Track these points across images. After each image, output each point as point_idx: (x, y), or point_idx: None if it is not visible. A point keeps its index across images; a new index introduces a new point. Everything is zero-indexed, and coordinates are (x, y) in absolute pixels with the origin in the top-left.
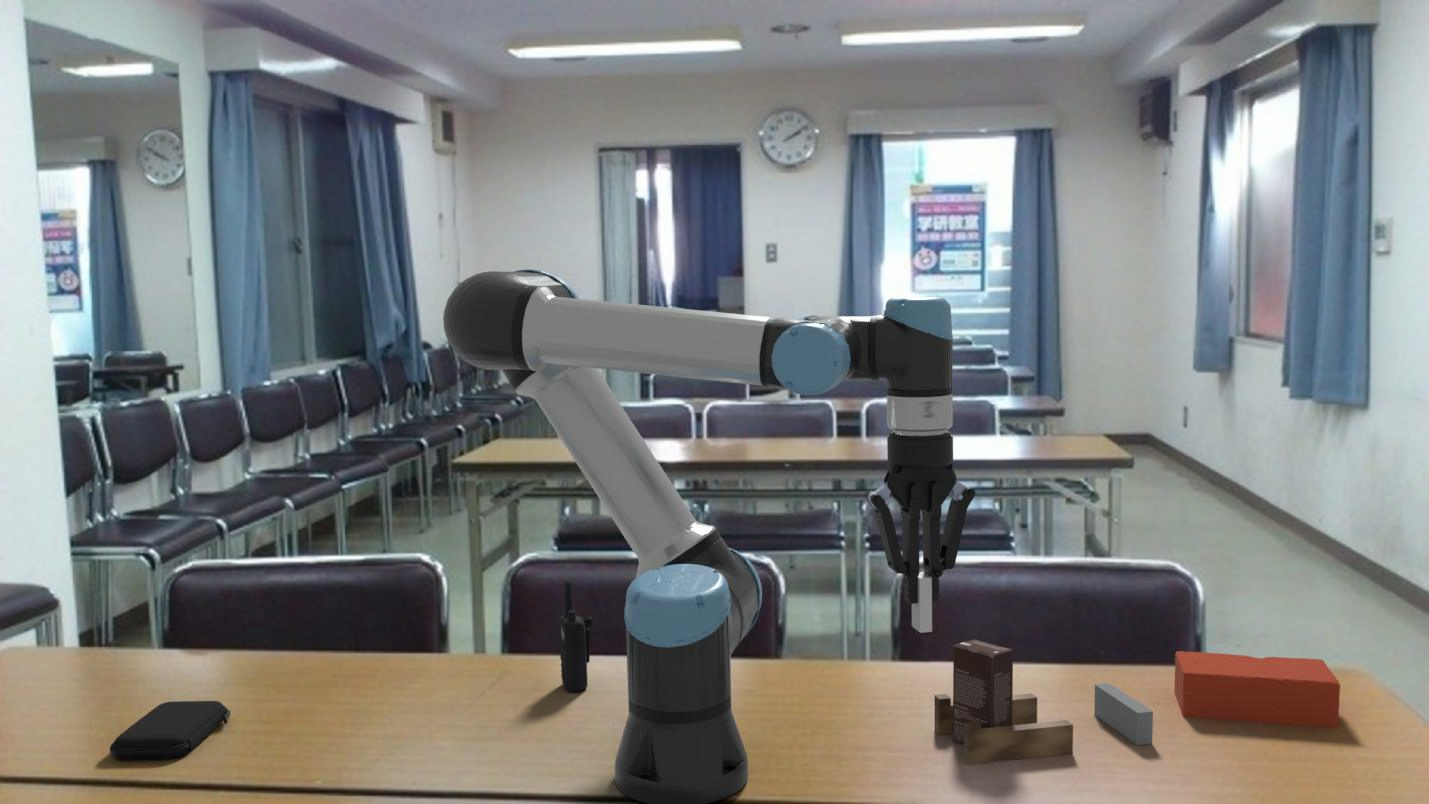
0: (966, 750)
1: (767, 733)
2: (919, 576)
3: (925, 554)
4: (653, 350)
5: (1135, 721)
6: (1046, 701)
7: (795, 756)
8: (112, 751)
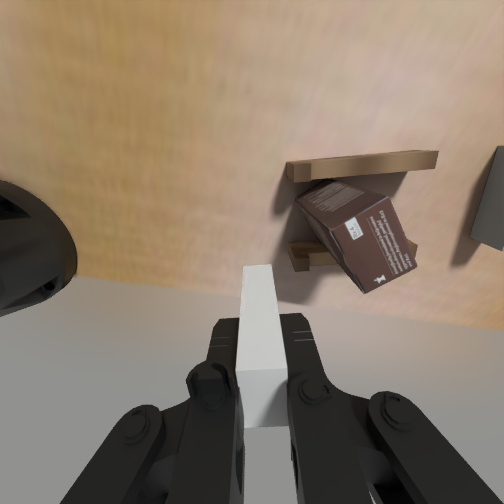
0: (290, 253)
1: (81, 136)
2: (251, 411)
3: (301, 493)
4: None
5: (492, 243)
6: (479, 79)
7: (120, 209)
8: None
